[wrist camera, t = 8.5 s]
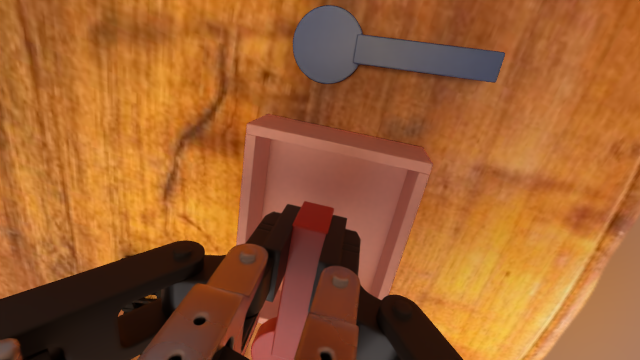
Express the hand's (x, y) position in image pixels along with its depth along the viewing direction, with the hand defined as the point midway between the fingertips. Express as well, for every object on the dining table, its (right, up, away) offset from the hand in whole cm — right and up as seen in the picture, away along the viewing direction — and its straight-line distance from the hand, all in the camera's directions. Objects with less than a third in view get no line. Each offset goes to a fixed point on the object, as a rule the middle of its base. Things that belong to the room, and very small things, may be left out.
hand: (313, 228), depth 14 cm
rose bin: (+1, -1, +8) cm, 8 cm away
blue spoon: (+4, +9, +4) cm, 11 cm away
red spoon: (-1, -4, +2) cm, 4 cm away
